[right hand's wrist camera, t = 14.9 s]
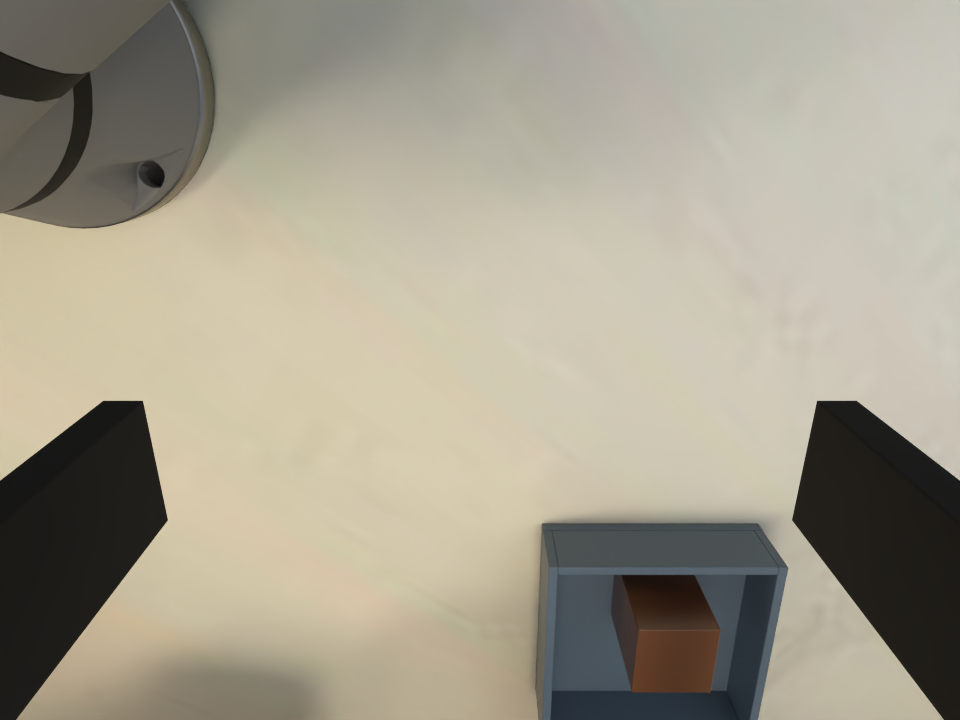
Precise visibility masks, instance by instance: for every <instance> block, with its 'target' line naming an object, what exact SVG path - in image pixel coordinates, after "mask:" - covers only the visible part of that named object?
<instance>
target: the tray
mask: <svg viewBox="0 0 960 720" xmlns="http://www.w3.org/2000/svg"><path fill="white" fill-rule="evenodd" d="M787 571H788V567H787V565H786V564H785V562H784V561H783V559H782V558H781V557H780V555H779V554H778V552H777V551H776V549H775V548H774V547H773V545H772V544H771V542H770V541H769V539H768V538H767V537H766V535H765V534H764V532H763V531H762V529H761V528H760V526H759V525H758V524H542V538H541V564H540V589H539V615H538V641H537V666H536V696H537V707H538V717H539V720H758V716H759V711H760V706H761V701H762V696H763V691H764V686H765V681H766V676H767V671H768V666H769V661H770V656H771V651H772V646H773V641H774V636H775V631H776V626H777V621H778V616H779V611H780V606H781V601H782V596H783V591H784V586H785V581H786V576H787ZM614 575H695V577H696V579H697V581H698V583H699V585H700V587H701V589H702V591H703V593H704V596H705V598H706V600H707V602H708V604H709V606H710V608H711V610H712V612H713V614H714V616H715V619H716V621H717V623H718V625H719V627H720V629H721V633H720V639H719V645H718V651H717V657H716V664H715V670H714V676H713V682H712V688H711V692H636V693H633V692H632V690H631V687H630V683H629V679H628V676H627V672H626V668H625V664H624V661H623V657H622V653H621V649H620V646H619V642H618V638H617V635H616V631H615V627H614V623H613V620H612V616H611V606H612V594H613V583H614Z"/></svg>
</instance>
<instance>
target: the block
mask: <svg viewBox="0 0 960 720" xmlns="http://www.w3.org/2000/svg"><path fill="white" fill-rule="evenodd" d="M611 616H612V620H613V623H614V627H615V631H616V635H617V638H618V642H619V646H620V649H621V653H622V657H623V661H624V664H625V668H626V672H627V676H628V679H629V683H630V687H631V690H632V692H633V693H636V692H711V688H712V682H713V676H714V670H715V664H716V657H717V651H718V645H719V639H720V633H721V629H720V627H719V625H718V623H717V621H716V619H715V616H714V614H713V612H712V610H711V608H710V606H709V604H708V602H707V600H706V598H705V596H704V593H703V591H702V589H701V587H700V585H699V583H698V581H697V579H696V577H695V575H614V583H613V594H612V606H611Z"/></svg>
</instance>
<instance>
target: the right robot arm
mask: <svg viewBox="0 0 960 720" xmlns="http://www.w3.org/2000/svg"><path fill="white" fill-rule="evenodd" d="M213 115H214V90H213V80H212V75H211V69H210V64H209V60H208V57H207V53H206V50H205V47H204V44H203V41H202V39H201V36H200V33H199V31H198V29H197V27H196V25H195V23H194V20H193V18H192V17H191V15H190V13H189V11H188V10H187V8H186V6H185V4H184V3H183V1H182V0H0V213H4V214H8V215H12V216H17V217H21V218H25V219H30V220H34V221H38V222H43V223H47V224H52V225H56V226H63V227H70V228H99V227H105V226H111V225H115V224H119V223H123V222H126V221H129V220H132V219H135V218H138V217H141V216H144V215H146V214H149V213H151V212H153V211H155V210H156V209H158V208H160V207H162V206H163V205H165V204H166V203H168V202H169V201H170V200H172V199H173V198H174V197H175V196H176V195H177V194H178V193H180V191H181V190H182V189H183V188H184V187H185V186H186V185H187V184H188V182H189V181H190V180H191V178H192V177H193V175H194V174H195V172H196V171H197V169H198V167H199V165H200V163H201V161H202V159H203V157H204V154H205V152H206V149H207V146H208V143H209V139H210V135H211V130H212V125H213ZM167 521H168V519H167V514H166V509H165V504H164V500H163V495H162V490H161V485H160V481H159V476H158V471H157V466H156V462H155V457H154V452H153V447H152V442H151V438H150V433H149V428H148V423H147V419H146V414H145V409H144V404H143V401H103V402H101V403H100V404H99V405H98V406H96V407H95V408H94V409H92V410H91V411H90V412H88V413H87V414H86V415H85V416H83V417H82V418H81V419H79V420H78V421H77V422H76V423H74V424H73V425H72V426H70V427H69V428H68V429H67V430H65V431H64V432H63V433H61V434H60V435H59V436H57V437H56V438H55V439H54V440H52V441H51V442H50V443H48V444H47V445H46V446H45V447H43V448H42V449H41V450H39V451H38V452H37V453H35V454H34V455H33V456H32V457H30V458H29V459H28V460H26V461H25V462H24V463H23V464H21V465H20V466H19V467H17V468H16V469H15V470H13V471H12V472H11V473H10V474H8V475H7V476H6V477H4V478H3V479H2V480H1V481H0V720H16V719H17V718H18V716H19V715H20V714H21V712H22V711H23V710H24V708H25V707H26V706H27V705H28V703H29V702H30V701H31V699H32V698H33V697H34V695H35V694H36V693H37V691H38V690H39V689H40V687H41V686H42V685H43V683H44V682H45V681H46V680H47V678H48V677H49V676H50V674H51V673H52V672H53V670H54V669H55V668H56V666H57V665H58V664H59V662H60V661H61V660H62V659H63V657H64V656H65V655H66V653H67V652H68V651H69V649H70V648H71V647H72V645H73V644H74V643H75V641H76V640H77V639H78V637H79V636H80V635H81V634H82V632H83V631H84V630H85V628H86V627H87V626H88V624H89V623H90V622H91V620H92V619H93V618H94V616H95V615H96V614H97V613H98V611H99V610H100V609H101V607H102V606H103V605H104V603H105V602H106V601H107V599H108V598H109V597H110V595H111V594H112V593H113V591H114V590H115V589H116V588H117V586H118V585H119V584H120V582H121V581H122V580H123V578H124V577H125V576H126V574H127V573H128V572H129V570H130V569H131V568H132V567H133V565H134V564H135V563H136V561H137V560H138V559H139V557H140V556H141V555H142V553H143V552H144V551H145V549H146V548H147V547H148V545H149V544H150V543H151V542H152V540H153V539H154V538H155V536H156V535H157V534H158V532H159V531H160V530H161V528H162V527H163V526H164V524H165V523H166V522H167ZM792 521H793V522H794V523H795V524H796V526H797V527H798V528H799V530H800V531H801V532H802V534H803V535H804V536H805V538H806V539H807V540H808V542H809V543H810V544H811V545H812V547H813V548H814V549H815V551H816V552H817V553H818V555H819V556H820V557H821V559H822V560H823V561H824V563H825V564H826V565H827V567H828V568H829V569H830V570H831V572H832V573H833V574H834V576H835V577H836V578H837V580H838V581H839V582H840V584H841V585H842V586H843V588H844V589H845V590H846V591H847V593H848V594H849V595H850V597H851V598H852V599H853V601H854V602H855V603H856V605H857V606H858V607H859V609H860V610H861V611H862V613H863V614H864V615H865V616H866V618H867V619H868V620H869V622H870V623H871V624H872V626H873V627H874V628H875V630H876V631H877V632H878V634H879V635H880V636H881V637H882V639H883V640H884V641H885V643H886V644H887V645H888V647H889V648H890V649H891V651H892V652H893V653H894V655H895V656H896V657H897V659H898V660H899V661H900V662H901V664H902V665H903V666H904V668H905V669H906V670H907V672H908V673H909V674H910V676H911V677H912V678H913V680H914V681H915V682H916V683H917V685H918V686H919V687H920V689H921V690H922V691H923V693H924V694H925V695H926V697H927V698H928V699H929V701H930V702H931V703H932V705H933V706H934V707H935V708H936V710H937V711H938V712H939V714H940V715H941V716H942V718H943V719H944V720H960V481H959V480H958V479H957V478H956V477H954V476H953V475H952V474H950V473H949V472H948V471H947V470H945V469H944V468H943V467H941V466H940V465H939V464H937V463H936V462H935V461H934V460H932V459H931V458H930V457H928V456H927V455H926V454H925V453H923V452H922V451H921V450H919V449H918V448H917V447H915V446H914V445H913V444H912V443H910V442H909V441H908V440H906V439H905V438H904V437H903V436H901V435H900V434H899V433H897V432H896V431H895V430H893V429H892V428H891V427H890V426H888V425H887V424H886V423H884V422H883V421H882V420H881V419H879V418H878V417H877V416H875V415H874V414H873V413H871V412H870V411H869V410H868V409H866V408H865V407H864V406H862V405H861V404H860V403H859V402H857V401H817V404H816V409H815V414H814V419H813V423H812V428H811V433H810V438H809V442H808V447H807V452H806V457H805V462H804V466H803V471H802V476H801V481H800V485H799V490H798V495H797V500H796V504H795V509H794V514H793V519H792Z"/></svg>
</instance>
